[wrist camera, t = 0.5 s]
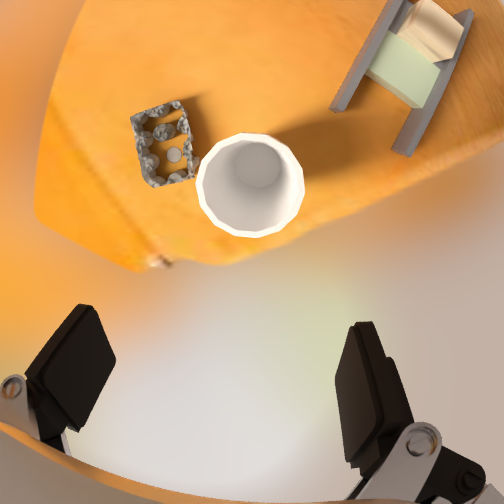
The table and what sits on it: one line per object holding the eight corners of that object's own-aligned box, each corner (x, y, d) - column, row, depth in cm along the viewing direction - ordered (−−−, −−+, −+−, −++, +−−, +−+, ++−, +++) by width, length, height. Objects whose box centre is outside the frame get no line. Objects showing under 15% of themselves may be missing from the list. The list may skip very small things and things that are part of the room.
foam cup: (307, 176, 36) (324, 204, 24) (249, 212, 38) (237, 255, 27) (267, 115, 32) (263, 111, 21) (208, 155, 35) (175, 173, 24)
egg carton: (204, 174, 37) (197, 181, 33) (155, 185, 38) (143, 192, 34) (190, 99, 32) (180, 97, 29) (139, 113, 33) (125, 114, 30)
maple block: (409, 7, 20) (426, -4, 16) (444, 34, 21) (464, 27, 17) (395, 34, 23) (412, 25, 19) (432, 62, 24) (452, 58, 19)
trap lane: (401, -25, 19) (413, -36, 15) (459, 18, 21) (474, 13, 17) (328, 108, 31) (335, 107, 27) (396, 152, 33) (410, 157, 29)
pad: (378, 33, 26) (385, 28, 23) (430, 72, 27) (440, 69, 24) (358, 70, 28) (365, 66, 26) (412, 108, 30) (422, 108, 27)
